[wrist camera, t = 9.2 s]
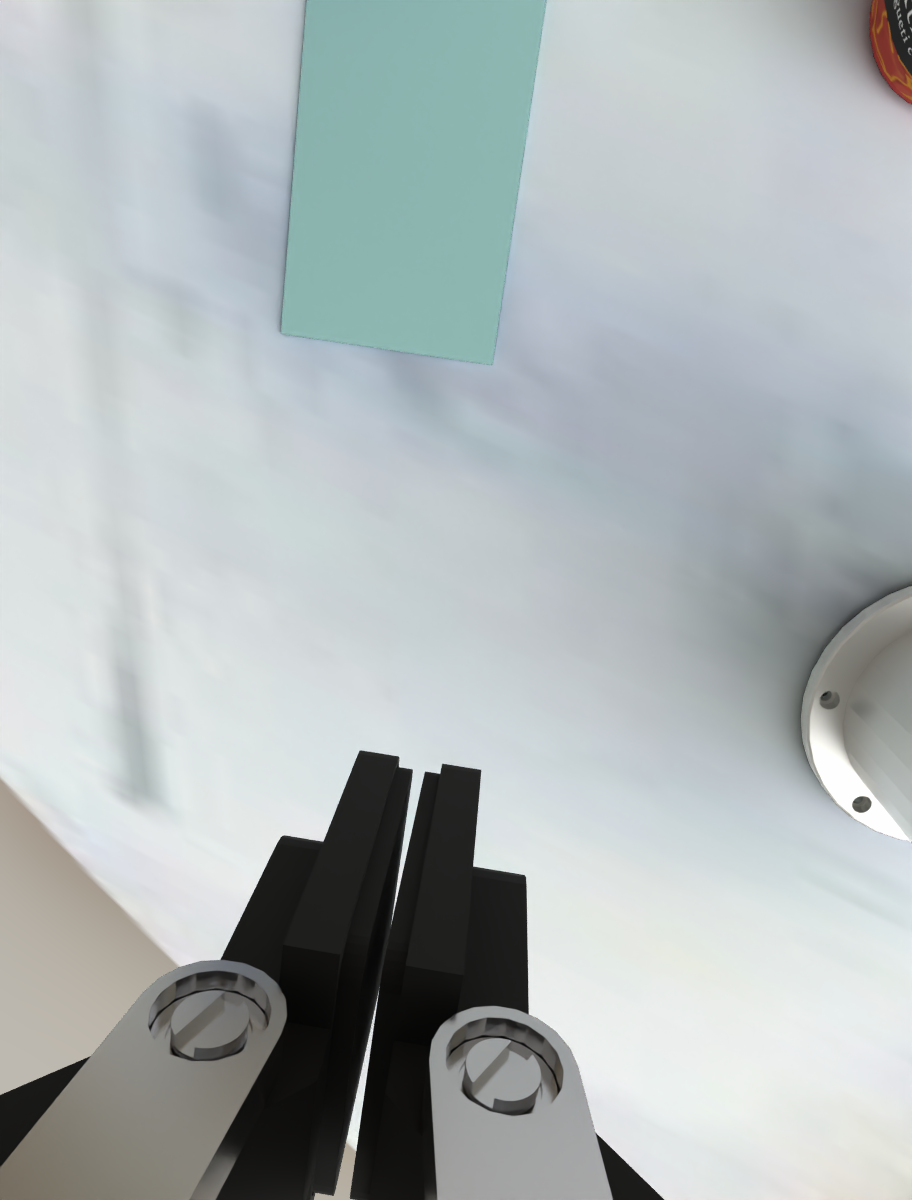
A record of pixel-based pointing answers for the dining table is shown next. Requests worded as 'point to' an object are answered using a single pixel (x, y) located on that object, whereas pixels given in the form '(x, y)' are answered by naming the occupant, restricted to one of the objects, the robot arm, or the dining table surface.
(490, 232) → the panel
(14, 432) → the dining table surface
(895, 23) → the canned food
